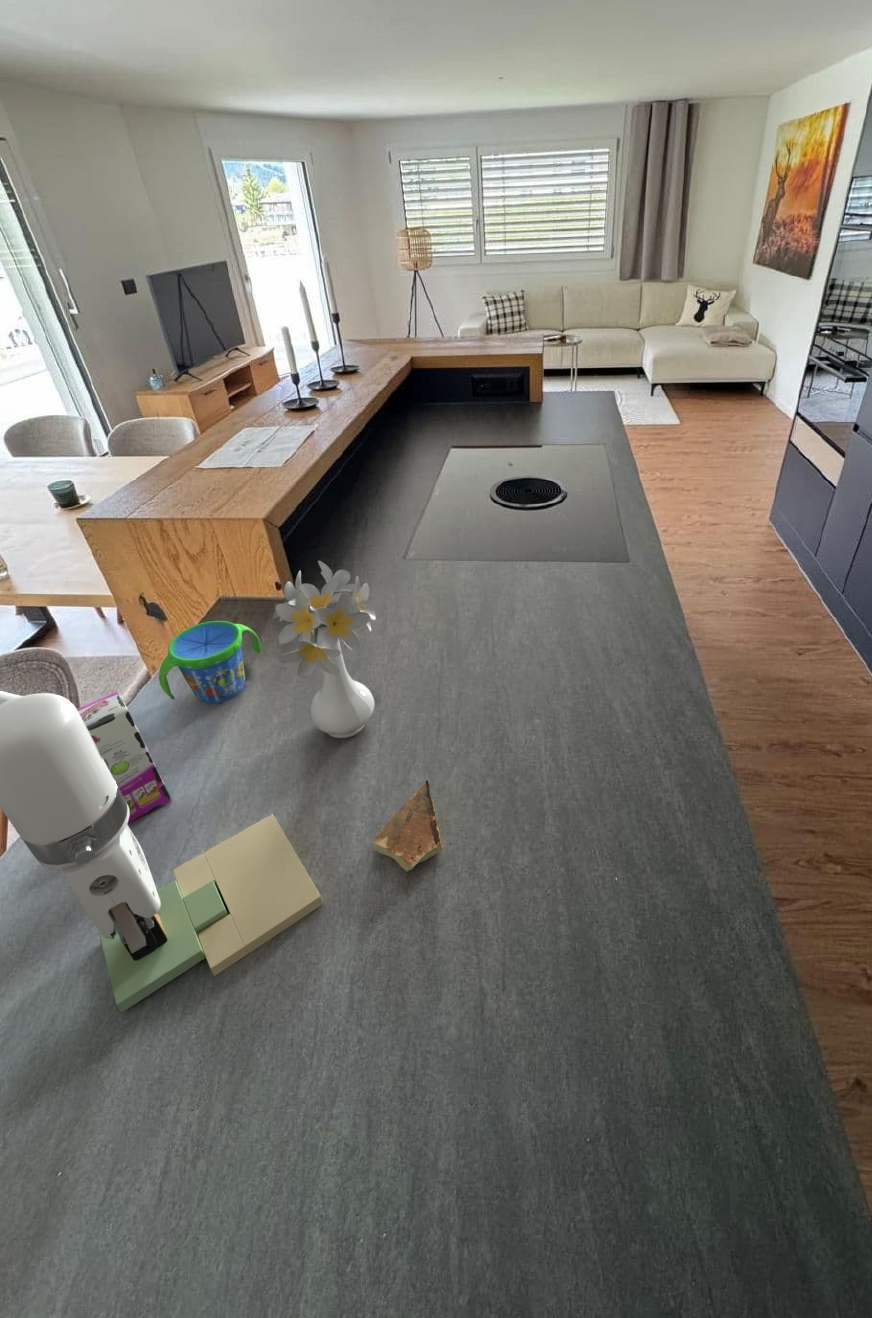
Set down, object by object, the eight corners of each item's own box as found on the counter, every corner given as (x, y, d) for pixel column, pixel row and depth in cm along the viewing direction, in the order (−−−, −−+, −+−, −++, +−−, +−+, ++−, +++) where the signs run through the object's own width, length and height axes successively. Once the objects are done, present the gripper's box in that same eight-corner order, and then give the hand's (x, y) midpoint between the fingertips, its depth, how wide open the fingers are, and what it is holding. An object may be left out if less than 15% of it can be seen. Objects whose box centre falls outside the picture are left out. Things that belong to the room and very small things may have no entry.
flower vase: (304, 784, 84) (260, 634, 70) (304, 694, 99) (268, 557, 86) (400, 762, 86) (376, 614, 73) (385, 678, 101) (363, 543, 88)
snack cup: (254, 654, 108) (239, 605, 103) (281, 682, 102) (267, 632, 96) (161, 696, 100) (140, 646, 94) (184, 731, 93) (162, 679, 88)
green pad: (121, 1012, 60) (92, 972, 56) (101, 932, 67) (74, 891, 63) (237, 937, 66) (218, 895, 62) (208, 870, 72) (189, 829, 69)
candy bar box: (161, 779, 85) (119, 688, 77) (173, 801, 82) (130, 709, 73) (70, 827, 79) (12, 734, 70) (78, 853, 76) (20, 759, 67)
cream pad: (214, 976, 63) (210, 968, 62) (176, 877, 73) (172, 869, 72) (323, 903, 69) (320, 895, 68) (275, 821, 79) (272, 813, 78)
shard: (428, 787, 82) (427, 777, 81) (475, 813, 78) (474, 804, 78) (371, 848, 75) (369, 838, 74) (419, 880, 71) (418, 871, 70)
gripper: (145, 859, 51) (208, 975, 61) (105, 745, 62) (164, 858, 72) (39, 917, 47) (124, 1030, 57) (17, 784, 58) (92, 898, 68)
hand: (146, 933), depth 64 cm, fingers closed on green pad, 3 cm apart
